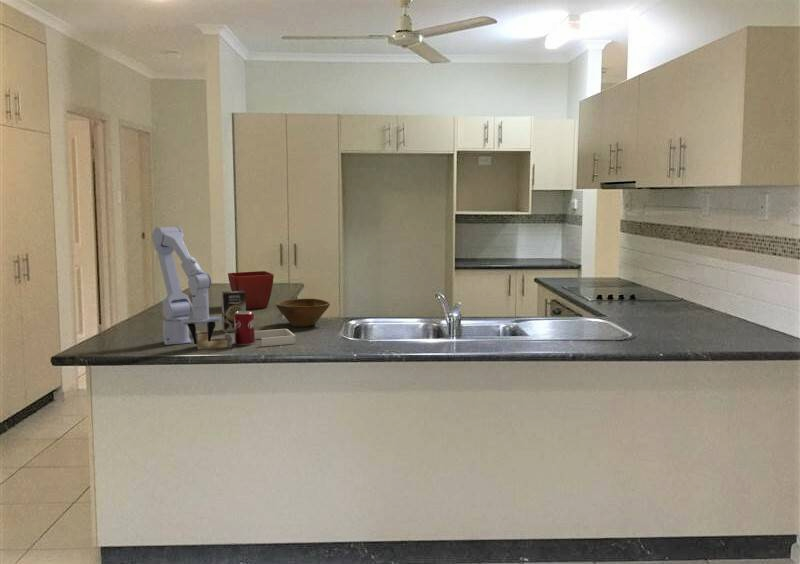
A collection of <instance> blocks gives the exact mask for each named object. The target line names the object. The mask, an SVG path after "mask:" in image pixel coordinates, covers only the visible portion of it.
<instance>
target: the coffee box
mask: <svg viewBox="0 0 800 564" xmlns="http://www.w3.org/2000/svg"><path fill="white" fill-rule="evenodd" d="M238 311H247V309H246V300H245V292H244V291H231V290H228V291H227V290H226V291H221V317H222V323H221V324H222V325H221V328H222V332H223V333H229V332H235V330H234V314H235V312H238Z"/></svg>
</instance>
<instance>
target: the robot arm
mask: <svg viewBox="0 0 800 564" xmlns="http://www.w3.org/2000/svg"><path fill="white" fill-rule="evenodd" d="M184 238H185V234H184V232H183V229H182V228H181V226H179V225H177V226H165V227H164V226H163V227H162V226H160V227H158V226H156V227H155V228H154V229H153V231H152V233H151V239H152V242H153V243H152V244H153V248H154V250H155V251H156V252H157V256H158V261H159V264H160V265H159V266H160V270H161V273H162V277H163V281H164V286H165V289H166V294H167V295H166V296H165V298H164V299H163V300H162V301H161V303H162V314H163V316H164V318H165V319H166V320H165V319H163V320H162V328H163V329H162V330H163V331H162V333H163V335H162V340H163V344H164V345H167V346H169V345H181V344H191V343H192V340H191V338H190V333H191V336H192V339H193V345H196V344H197V341H196V332H197V330H196V329H197V327H196V325H203V324H206V327H207V329H206V330H207V333H208V342H210V341H211V339H212V336H213V332H214V330H215V328H216V323H217V324H218V323H219V324H222V316H210V301H209V300H210V299H209V288H211V286H212V278H211V276H210V274H209V273H207V272H205V271H203V269H202V268H201V266H200V264H199V262H198V261H197V260H196V258H195V257H192V256H191V254H190V253H189V251H188V248H187V246H186V244H185V241H184V240H185V239H184ZM173 252H175V253H176V255H177V256H178V257H179V259H180V261H181V263H180V266H181V268H182V271H183V272H184V274H185V275H186V277H187V279H188V282H187V284H188V288H189V291H190V292H189V293H190V294H191V295H192V304H191V302H190V300H189V297H188V296H189V295H187V294H186V293H184V292H182V288H181V284H180V283H181V282H180V280H179V279H180V278H179V275H178V272H177V271H178V270H177V267H176V264H175V263H176V262H175V258H174V255H173ZM191 316H192V317H191Z"/></svg>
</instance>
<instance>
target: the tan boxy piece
mask: <svg viewBox="0 0 800 564" xmlns="http://www.w3.org/2000/svg"><path fill="white" fill-rule="evenodd" d="M196 341H197V344H195V346H196V349H197V350H208V349H220V348H221V349H222V348H228V349H229V348H233V344H232V343H233V341H232V336H231V335H230V333H229V332H224V337H216V338H211V341H210V342H208V331H207V330H201V331H196Z"/></svg>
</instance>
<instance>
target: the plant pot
mask: <svg viewBox="0 0 800 564" xmlns="http://www.w3.org/2000/svg"><path fill="white" fill-rule="evenodd" d="M274 276H275V274H274V273H271V272H268V271H266V270H262V271H261V270H258V271H257V270H255V271H243V272H228V273H227V277H228V282H229V287H230V289H231V290H230V291H244V292H245V300H246V310H255V309H266V308H268V306H269V303H270V299H271V295H272V291H273V285H274V278H275V277H274Z"/></svg>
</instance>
